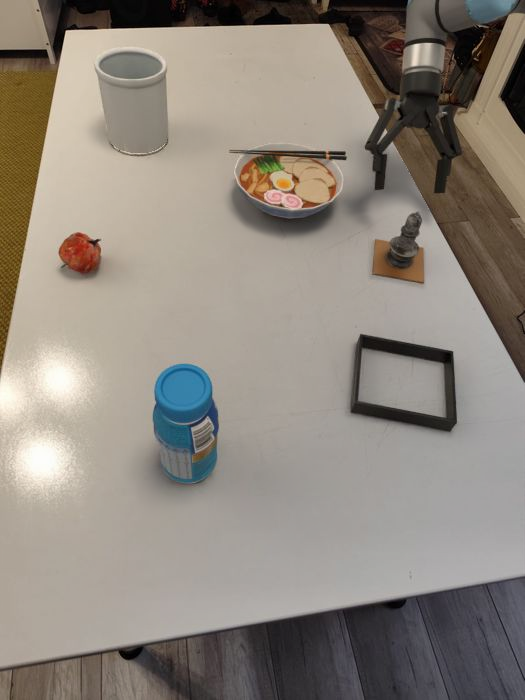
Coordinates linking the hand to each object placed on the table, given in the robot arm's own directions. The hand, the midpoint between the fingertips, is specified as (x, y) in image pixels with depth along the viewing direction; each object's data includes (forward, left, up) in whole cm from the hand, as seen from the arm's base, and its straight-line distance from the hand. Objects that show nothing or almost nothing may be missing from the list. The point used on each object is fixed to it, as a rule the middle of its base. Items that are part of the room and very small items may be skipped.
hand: (409, 191), depth 104 cm
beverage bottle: (+29, +61, -9) cm, 68 cm away
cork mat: (-1, +11, -9) cm, 14 cm away
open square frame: (-2, +41, -9) cm, 42 cm away
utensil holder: (+61, -15, -9) cm, 64 cm away
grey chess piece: (-1, +11, -9) cm, 14 cm away
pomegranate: (+58, +28, -9) cm, 65 cm away
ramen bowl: (+24, -1, -9) cm, 26 cm away
